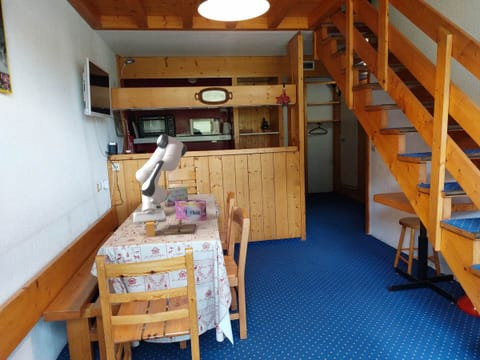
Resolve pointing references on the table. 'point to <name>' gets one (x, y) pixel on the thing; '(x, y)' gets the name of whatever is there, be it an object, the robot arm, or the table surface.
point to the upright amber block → (150, 229)
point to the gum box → (191, 210)
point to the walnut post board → (180, 229)
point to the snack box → (176, 196)
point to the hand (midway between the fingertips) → (150, 228)
